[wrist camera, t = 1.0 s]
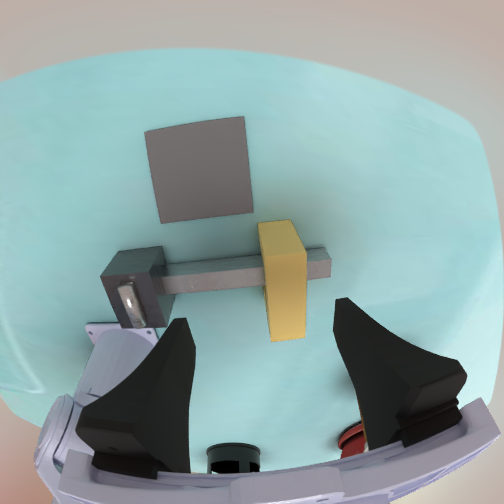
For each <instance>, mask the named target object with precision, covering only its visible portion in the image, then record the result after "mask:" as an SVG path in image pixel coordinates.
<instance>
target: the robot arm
mask: <svg viewBox="0 0 504 504" xmlns="http://www.w3.org/2000/svg"><path fill="white" fill-rule="evenodd" d="M85 330H86V331H87V333H88V335H89V337H90V339H91V341H92V342H93V344H94V346H95V347H94V349H93V351H92V353H91V356H90V358H89V360H88V362H87V364H86V367H85V369H84V371H83V374H82V376H81V378H80V381H79V383H78V385H77V388H76V390H75V393H74V395H73V397H71V396H69V395H67V394H66V395H64V396H59V397H58V398H57V399H56V401H55V402H54V404H53V405H52V407H51V409H50V411H49V413H48V415H47V417H46V420H45V422H44V424H43V427H42V430H41V433H40V436H39V440H38V445H37V447H36V450H35V453H34V462H35V469H36V471H37V473H38V474H39V476H40V478H41V479H42V481H43V482H44V483H45V485H46V486H47V487H48V489H49V490H50V492H51V493H52V494H53V496H54V497H53V500H52V504H390V503H389V502H391V501H393V500H396V499H398V498H401V497H403V496H405V495H408V494H410V493H412V492H414V491H416V490H418V489H420V488H422V487H425V486H426V485H428V484H430V483H432V482H434V481H436V480H438V479H440V478H442V477H444V476H445V475H447V474H449V473H451V472H452V471H454V470H456V469H458V468H459V467H461V466H462V465H464V464H466V463H467V462H469V461H471V460H472V459H474V458H475V457H477V456H478V455H479V454H480V453H482V452H483V451H484V450H485V449H486V448H487V447H488V446H489V445H491V444H492V443H493V442H494V441H495V440H496V439H497V438H498V437H499V436H500V435H501V432H500V430H499V428H498V426H497V425H496V423H495V421H494V419H493V417H492V415H491V414H490V412H489V410H488V409H487V407H486V405H485V403H484V402H483V400H482V398H478V399H476V400H474V401H472V402H471V403H469V404H467V405H465V406H464V407H462V408H461V409H460V410H459V409H458V407H457V405H458V404H459V401H458V399H457V398H456V396H457V395H458V393H459V392H460V390H461V389H462V387H463V386H464V384H465V382H466V379H467V373H466V372H465V370H464V369H463V367H462V366H461V364H460V363H459V361H458V360H455V359H451V358H447V357H443V356H440V355H437V354H434V353H431V352H429V351H426V350H424V349H421V348H419V347H417V346H415V345H413V344H411V343H409V342H407V341H405V340H403V339H402V338H400V337H398V336H396V335H395V334H393V333H392V332H390V331H389V330H387V329H386V328H384V327H383V326H382V325H380V324H379V323H378V322H376V321H375V320H374V319H373V318H371V317H370V316H369V315H368V314H366V313H365V312H364V311H363V310H362V309H360V308H359V307H358V306H357V305H356V304H355V303H353V302H352V301H351V300H350V299H349V298H348V297H346V298H341V299H336V301H335V313H334V324H333V332H334V336H335V340H336V343H337V346H338V349H339V352H340V354H341V356H342V359H343V361H344V363H345V366H346V368H347V370H348V372H349V375H350V377H351V380H352V382H353V385H354V387H355V391H356V394H357V398H358V401H359V405H360V409H361V413H362V417H363V422H364V427H365V432H366V437H367V443H368V450H369V451H368V452H364V453H361V454H357V455H354V456H350V457H346V458H342V459H338V460H333V461H329V462H324V463H319V464H314V465H309V466H303V467H297V468H290V469H283V470H275V471H265V472H254V473H237V474H191V470H190V458H189V403H190V396H191V390H192V383H193V377H194V370H195V359H196V346H195V343H194V340H193V337H192V334H191V331H190V328H189V325H188V322H187V319H186V318H175V319H173V321H172V322H171V323H170V325H169V326H168V328H167V329H166V331H165V332H164V334H163V335H162V336H161V338H160V339H159V340H158V337H157V335H156V332H155V330H154V328H141V329H122V328H121V326H120V324H119V323H112V324H86V326H85ZM148 330H149V331H151V332H149V331H148Z"/></svg>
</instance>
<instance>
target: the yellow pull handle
mask: <svg viewBox="0 0 504 504" xmlns="http://www.w3.org/2000/svg"><path fill="white" fill-rule="evenodd" d="M258 233H259V242H260V247H261V253H262V258H263V263H264V272H265V284H266V285H263V289H264V300H265V306H266V312H267V319H268V325H269V332H270V338H271V342H276V341H284V340H292V339H299V338H305V328H306V285H307V252H306V250H305V248H304V246H303V244H302V242H301V240H300V238H299V236H298V234H297V232H296V230H295V228H294V226H293V224H292V222H291V220H281V221H271V222H261V223H258Z"/></svg>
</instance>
